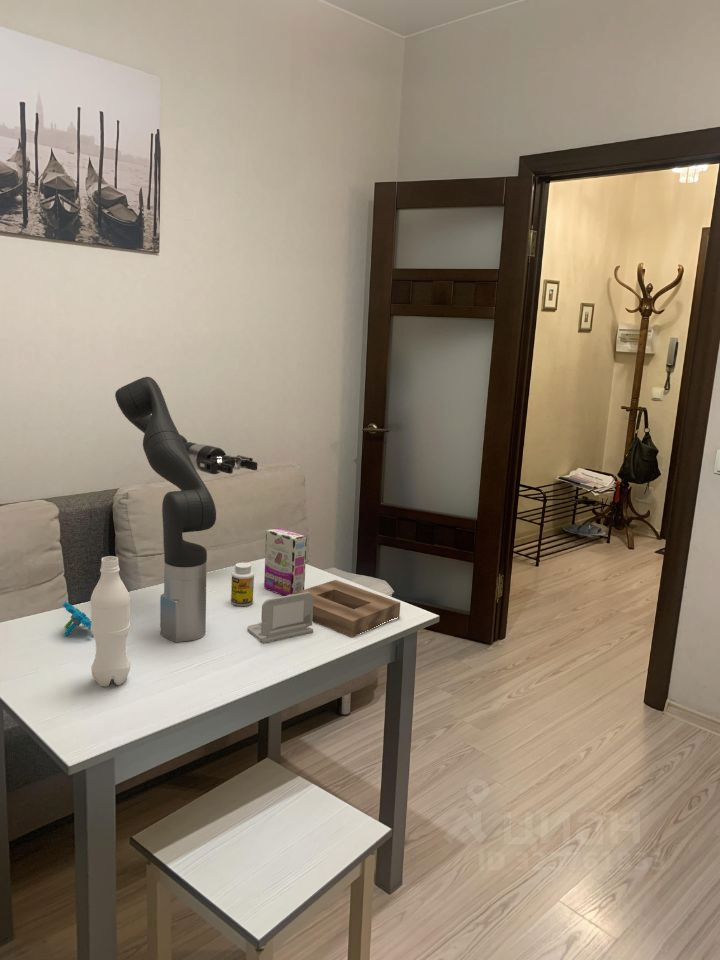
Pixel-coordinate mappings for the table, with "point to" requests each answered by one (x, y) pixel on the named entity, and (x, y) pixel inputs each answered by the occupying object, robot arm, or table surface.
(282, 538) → the candy bar box
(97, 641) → the water bottle
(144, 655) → the table surface
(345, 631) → the walnut holder block
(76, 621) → the blue green plastic toy
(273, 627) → the handheld gaming console
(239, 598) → the supplement bottle
